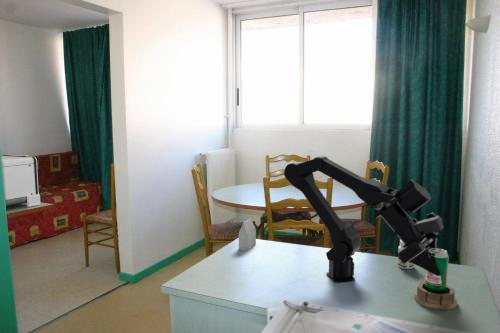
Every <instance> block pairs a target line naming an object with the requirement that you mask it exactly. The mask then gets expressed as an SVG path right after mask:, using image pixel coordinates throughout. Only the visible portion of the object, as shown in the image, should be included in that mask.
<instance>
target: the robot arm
mask: <svg viewBox="0 0 500 333" xmlns="http://www.w3.org/2000/svg"><path fill="white" fill-rule="evenodd" d="M317 172H320V173H322V174H324V175H326V176H327V177H328V178H330V179H332V180H333V181H336V182H338V183H339V184H341V185H343V186H345V187H346V188H349V189H350V190H351V191H352V192H354V194H355V195H356V196H357V197H358V198H359V199H360V200H361V201H363V203H365V204H366V205H367V206H370V207H376V208H374V209H373V216H372V219H373V220H377V219H378V218H380V217H381V218H382V219H383V220H384V221H385V223H386V224H387V225H388V226H389V228H390V229H391V230H392V231H393V232H392V235H393V237H396V236H397V237H398V238H399V240H401V241H402V242H403V243H404V244H405V245H404V246H403V247H404V249H402V250H401V251H400V252H399V253H398V252H397V253H398V255H397V259H398V258H399V260H400V261H401V262H402V263H403V264H404V263H406V262H407V261H408V262H409V263H413V264H414V266H415V265H416V266H418V267H420V268H422V269H423V270H425V271H426V270H427V271H429V272H431V273H433V274H435V275H437V276H439V275H441V272H440V270H439V268H438V267H437V265H436V264H435V262H434V261H433V259H432V258H431V256H430V255H429V250H430V249H431V248H438V246H437V245H438V244H437V243H438V239H439V238H438V237H437V236H438V235H439V234H440V232H441V231H443V229H444V228H445V226H444V223H443V218H442V217H440V215H437V214H436V213H435V212H431V213H427V215H426V219H425V218H424V219H423V220H418V219H417V218H416V217H411V216H410V215H409V214H408V213H409V212H411V213H415V212H416V211H418V210H419V209H420V208H421V207H423V206H424V205H425V204H427V203H428V202H429V201H431V200H432V196H431V194H430V193H429V192H428V190H427V189H426V188H425V187H424V186H422V185H420V184H419V183H417V182H416V181H415V180H414V179H411V180H409V181H407V183H406V184H405V185H404V186H403V187H402V188H400V189H395V188H391V187H389V186H388V185H386V184H385V183H383V182H380V181H378V180H374V179H371V178H366V177H362V176H360V175H358V174H356V173H355V172H353V171H351V170H349V169H348V168H345V167H343V166H342V165H340V164H338V163H336V162H334V161H333V160H330V159H329V158H328V157H327V156H325V155H320V156H316V157H314V158H313V159H310V160H307V161H302V160H301V161H296V162H292V163H288V164H287V165H285V167H284V173H283V176H284V178H285V180H287V181H288V183H289V184H291V185H292V186H293V187H294V188H296V189H297V190H298V191H300V192H301V193H302V194H303V196H304V197H305V198H306V200H307V202H308V203H309V205H311V207H312V210H314V212H315V213H316V215H317V216H318V218H319V219H320V221H321V222H322V223H323V226H325V228H326V229H327V231H328V234H329V240H330V243H331V245H332V247H331V249H329V250H327V252H326V253H325V254H326V259H327V260H328V271H327V272H326V273H325V274H326V276H328V278H330V279H331V280H332V281H333V282H334V283H341V282H350V281H356V278H355V276H354V275H355V262H354V258H353V257H352V256H354V255H355V253H356V252H357V251H358V250H359V249H360V248H361V244H362V239H361V238H360V236H361V234H360V233H359V232H358V231H357V230H356V228H355V226H354V225H353V224H352V223H351V224H349V225H347V224H346V223H344V222H343V221H342V220H341V219H340V217H339V216H338V214H337V213H336V212H335V210H334V208H333V207H332V206H331V204H330V203H329V201H328V200H327V199H326V197H325V196H324V194H323V193H322V191H321V190H320V189H319V187H318V185H317V184H316V182H315V176H314V173H317ZM394 199H396V200H395V201H393V200H394ZM390 201H391V202H392V201H393V202H392V203H389V202H390ZM383 203H384V204H383ZM382 204H383V205H382ZM380 205H382V206H381V207H379V208H378V207H377V206H380ZM433 238H434V239H433Z"/></svg>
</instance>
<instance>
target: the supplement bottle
mask: <svg viewBox="0 0 500 333" xmlns="http://www.w3.org/2000/svg"><path fill="white" fill-rule="evenodd" d="M404 245H405V244H404V243H403V242H402V241H401V239H399V246H398V248H397V253H399V252H400V251H401V250H402V249H404V247H403V246H404ZM397 266H398V267H399V268H401V269H404V270H406V269H407V270H410V269H413V268H414V267H415V264H413V263H409V262H408V261H407V262H406V263H404V264H403V263H402V262H401V261H400V260H399V258H398V257H397Z"/></svg>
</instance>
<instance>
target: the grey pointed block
mask: <svg viewBox="0 0 500 333" xmlns="http://www.w3.org/2000/svg"><path fill="white" fill-rule="evenodd" d="M253 222H254V221H253V218H249V219H247V220H245V221H243V222H241V223H242V224H241V227H240V229H239V232H238V250H242V251H249V250H251V249H252V248H254V247H255V246H257V232H256V231H257V229H256V226H255V224H254V223H253Z"/></svg>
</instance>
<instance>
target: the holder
mask: <svg viewBox="0 0 500 333" xmlns="http://www.w3.org/2000/svg"><path fill="white" fill-rule="evenodd" d="M455 294H456V290H455V288H453V287H452V286H450V285H448V284H447V286H446V294H436V293H432V292H428V291H426V290H425V281H421V282H419V283H418V285H417V291H415V293H414V301H415V302H416V303H417V304H419V305H420V306H422V307H424V308H428V309H430V310H431V309H432V310H434V311H451V310H455V309H456V308H457V306H458V299H457V298H456V297H455Z"/></svg>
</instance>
